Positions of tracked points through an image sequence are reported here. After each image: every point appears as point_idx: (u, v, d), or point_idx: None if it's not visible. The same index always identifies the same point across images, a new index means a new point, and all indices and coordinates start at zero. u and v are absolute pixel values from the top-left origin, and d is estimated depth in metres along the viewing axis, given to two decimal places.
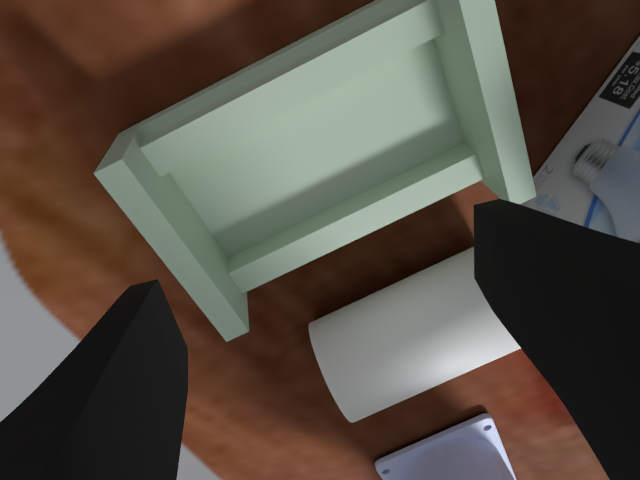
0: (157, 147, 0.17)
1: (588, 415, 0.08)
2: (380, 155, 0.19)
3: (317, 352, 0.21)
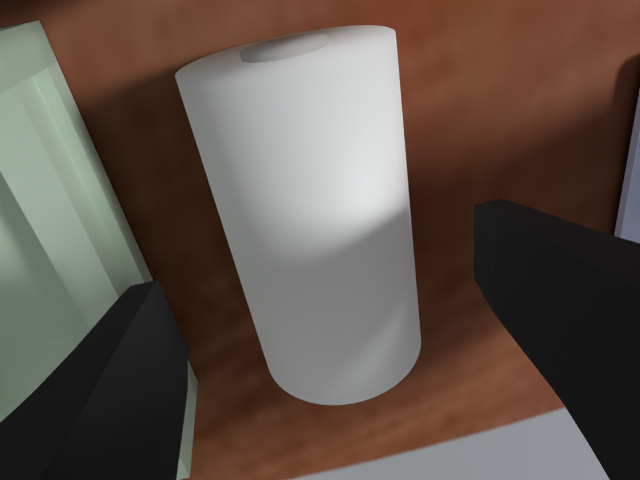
0: None
1: (588, 415, 0.08)
2: (2, 213, 0.13)
3: (275, 379, 0.14)
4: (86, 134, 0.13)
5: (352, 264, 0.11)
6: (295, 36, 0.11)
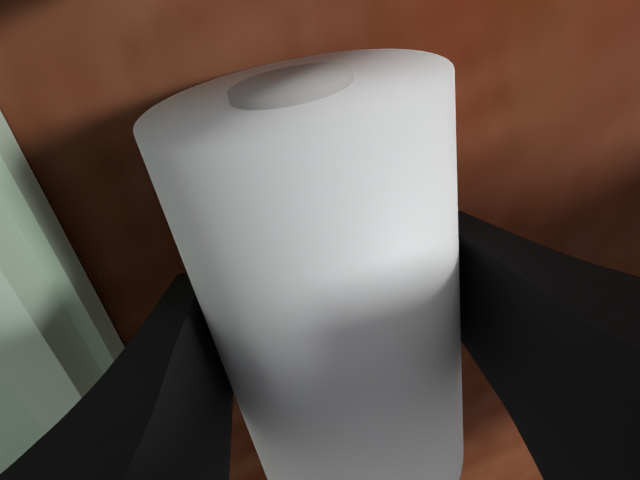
0: None
1: (531, 430, 0.08)
2: None
3: None
4: (35, 188, 0.10)
5: (381, 392, 0.08)
6: (308, 66, 0.08)
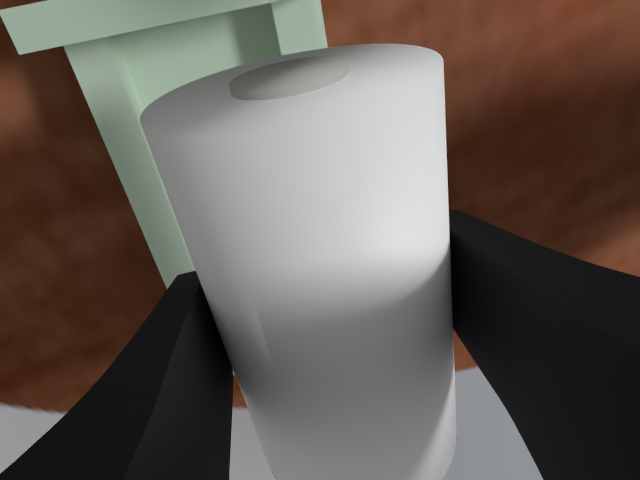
0: None
1: (531, 430, 0.08)
2: None
3: None
4: None
5: (382, 366, 0.08)
6: (303, 60, 0.09)
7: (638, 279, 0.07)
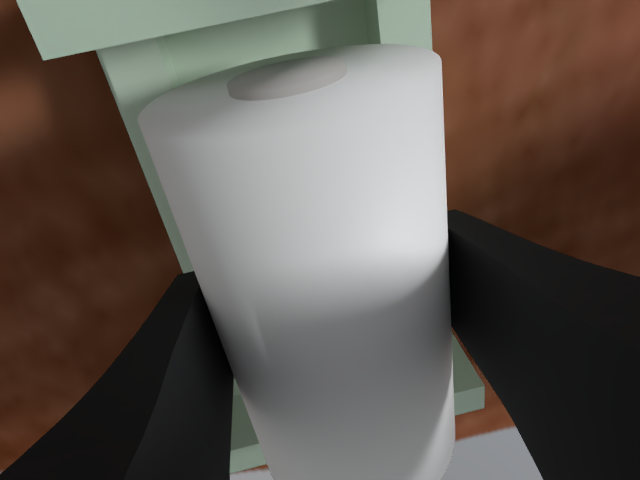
0: None
1: (531, 430, 0.08)
2: None
3: None
4: None
5: (379, 367, 0.08)
6: (301, 60, 0.09)
7: (638, 279, 0.07)
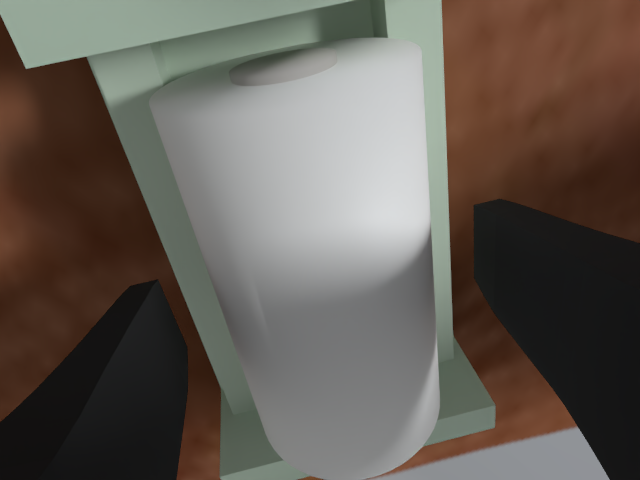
0: (236, 401, 0.15)
1: (588, 415, 0.08)
2: None
3: (272, 444, 0.12)
4: None
5: (366, 329, 0.09)
6: (297, 51, 0.09)
7: None
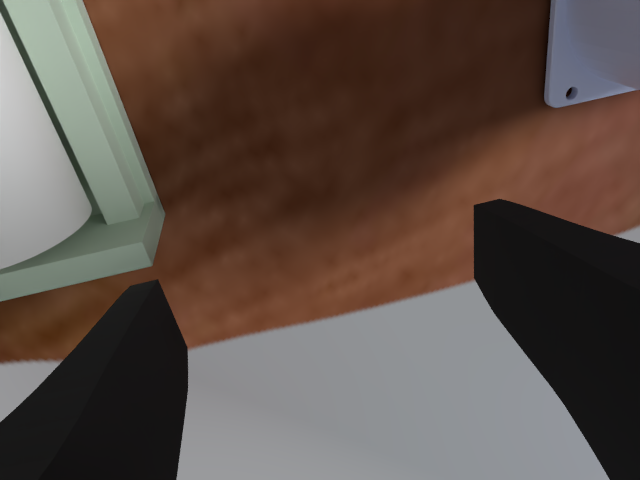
0: None
1: (588, 415, 0.08)
2: None
3: None
4: None
5: None
6: None
7: None
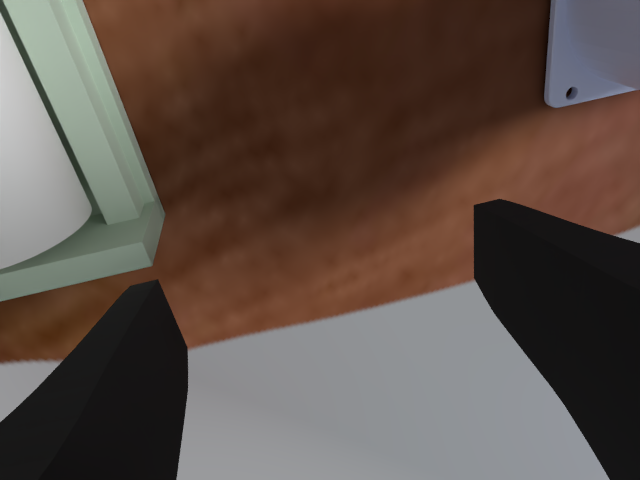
0: None
1: (588, 415, 0.08)
2: None
3: None
4: None
5: None
6: None
7: None
